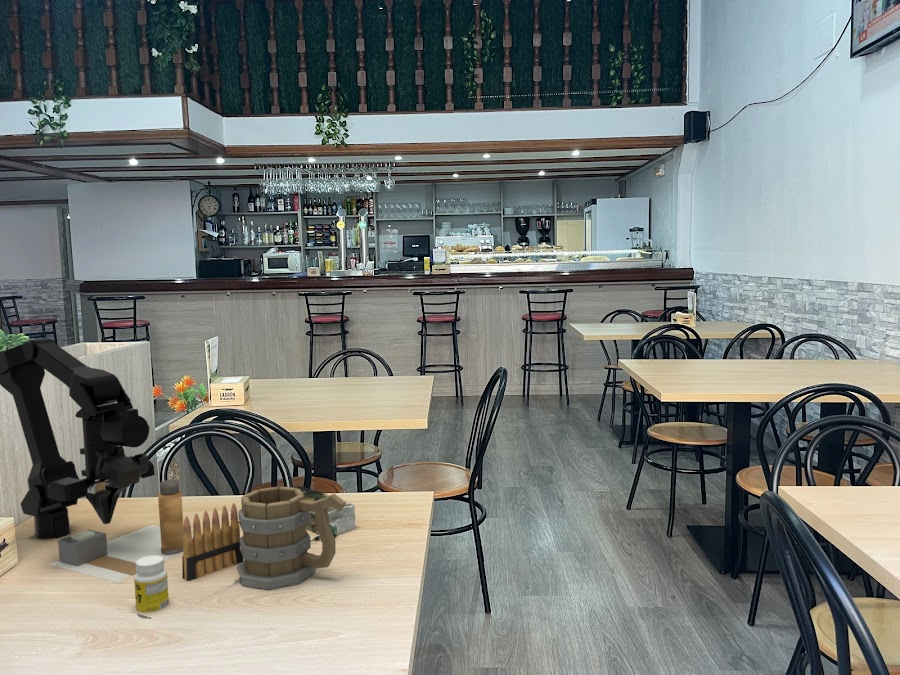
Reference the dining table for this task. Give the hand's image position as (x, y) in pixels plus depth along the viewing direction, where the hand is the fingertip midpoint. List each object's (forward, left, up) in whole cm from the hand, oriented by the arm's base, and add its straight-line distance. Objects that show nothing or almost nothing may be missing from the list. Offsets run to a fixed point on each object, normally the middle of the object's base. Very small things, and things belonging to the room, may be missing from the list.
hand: (106, 523), depth 135 cm
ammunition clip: (+26, +1, -6) cm, 27 cm away
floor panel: (+6, +1, -6) cm, 8 cm away
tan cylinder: (+12, +4, -5) cm, 14 cm away
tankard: (+39, +7, -6) cm, 40 cm away
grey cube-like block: (0, -5, -5) cm, 7 cm away
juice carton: (+25, +29, -7) cm, 39 cm away
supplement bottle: (+27, -13, -6) cm, 31 cm away
